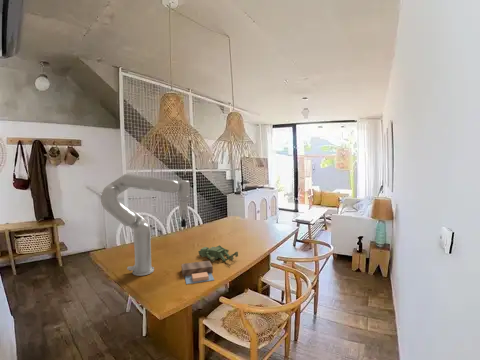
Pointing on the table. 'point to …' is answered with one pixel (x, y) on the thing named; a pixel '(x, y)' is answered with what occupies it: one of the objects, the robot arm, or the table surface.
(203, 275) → the tan flat block
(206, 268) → the plate
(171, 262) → the table surface
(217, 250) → the toy
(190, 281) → the mat
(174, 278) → the table surface
